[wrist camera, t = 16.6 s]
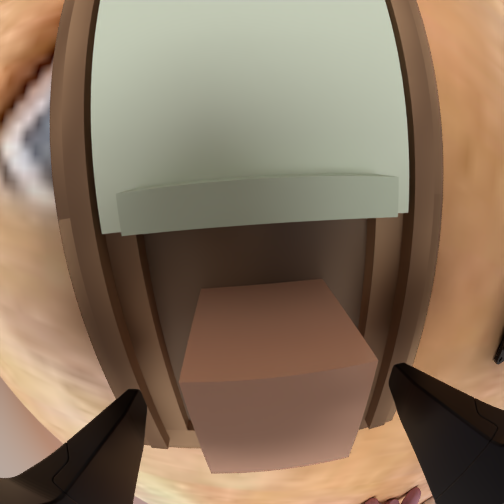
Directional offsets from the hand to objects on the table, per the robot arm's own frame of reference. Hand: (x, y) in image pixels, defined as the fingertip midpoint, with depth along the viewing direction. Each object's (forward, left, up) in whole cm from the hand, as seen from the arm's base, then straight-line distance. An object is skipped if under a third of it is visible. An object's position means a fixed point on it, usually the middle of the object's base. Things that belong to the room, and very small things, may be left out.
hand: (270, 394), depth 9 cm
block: (0, 0, -4) cm, 4 cm away
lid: (0, -12, -3) cm, 12 cm away
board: (0, -6, -4) cm, 7 cm away
